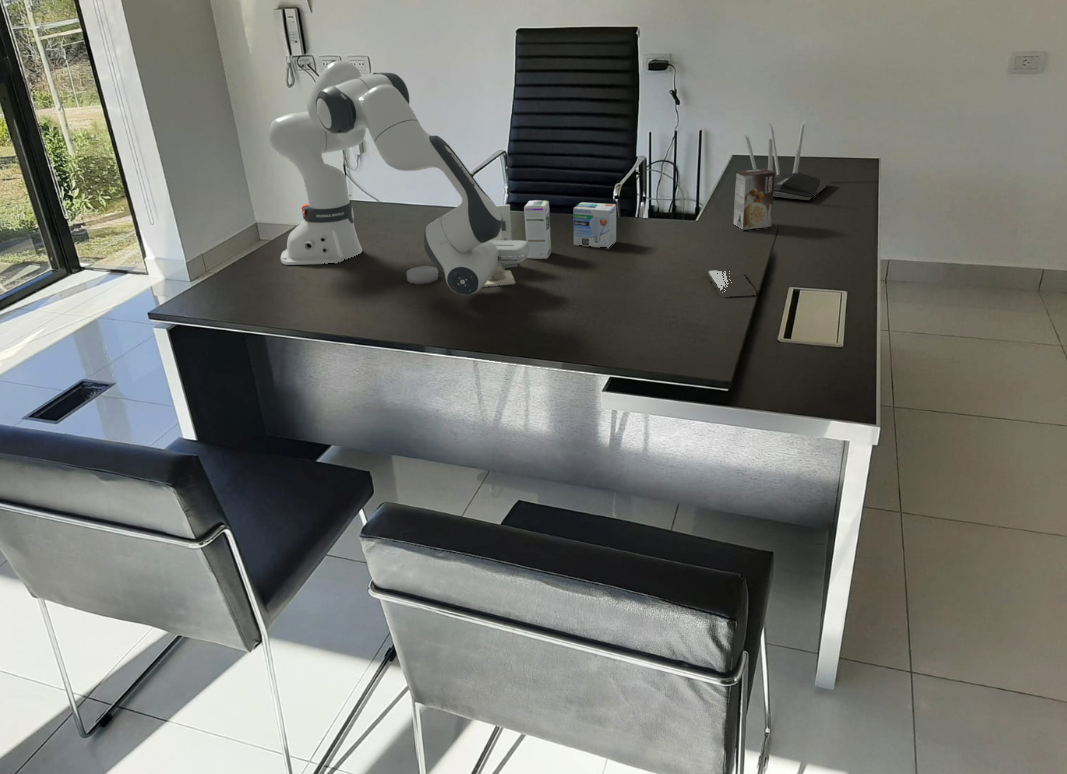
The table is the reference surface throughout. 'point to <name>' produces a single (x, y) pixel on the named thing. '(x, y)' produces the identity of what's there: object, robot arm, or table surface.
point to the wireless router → (790, 182)
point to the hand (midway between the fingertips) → (493, 240)
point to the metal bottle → (500, 269)
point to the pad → (505, 281)
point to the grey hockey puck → (422, 274)
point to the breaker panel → (506, 227)
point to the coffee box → (754, 198)
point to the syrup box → (538, 229)
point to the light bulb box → (595, 224)
